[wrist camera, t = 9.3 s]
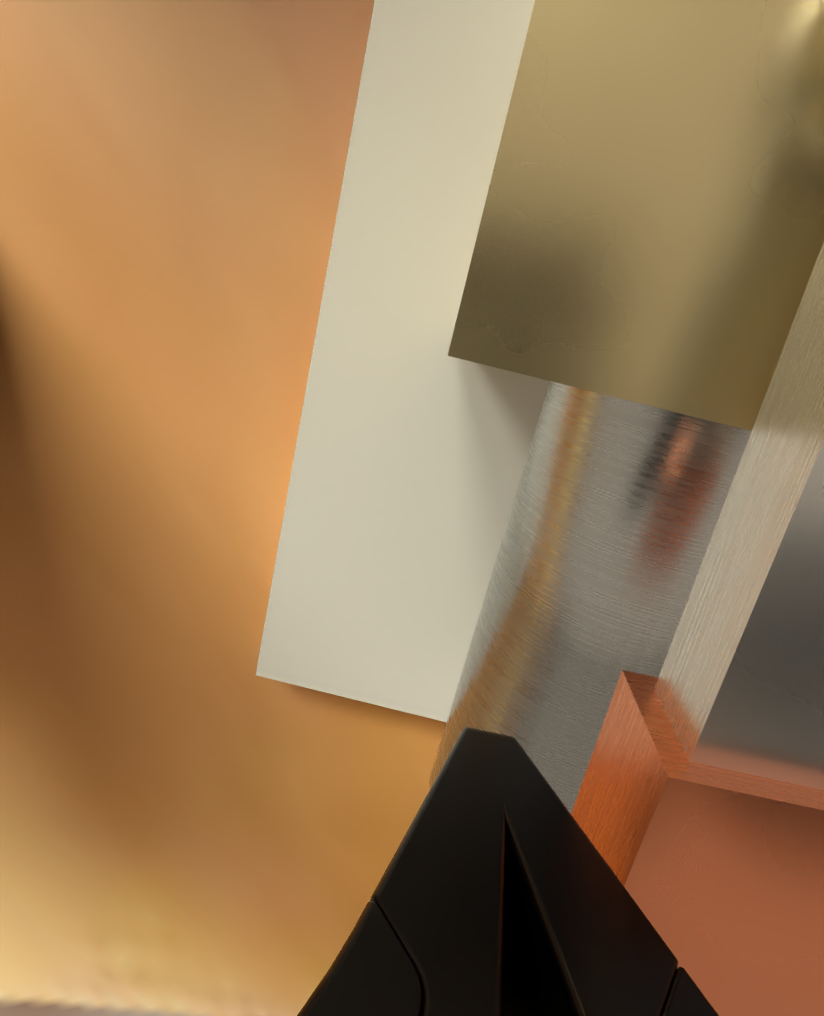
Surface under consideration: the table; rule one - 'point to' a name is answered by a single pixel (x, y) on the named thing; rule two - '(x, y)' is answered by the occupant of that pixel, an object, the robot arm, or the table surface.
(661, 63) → the valve body
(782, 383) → the valve lever
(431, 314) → the mount board
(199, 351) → the table surface
